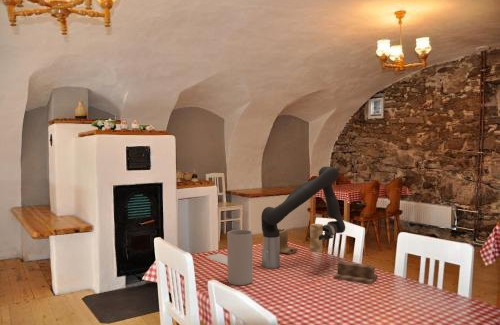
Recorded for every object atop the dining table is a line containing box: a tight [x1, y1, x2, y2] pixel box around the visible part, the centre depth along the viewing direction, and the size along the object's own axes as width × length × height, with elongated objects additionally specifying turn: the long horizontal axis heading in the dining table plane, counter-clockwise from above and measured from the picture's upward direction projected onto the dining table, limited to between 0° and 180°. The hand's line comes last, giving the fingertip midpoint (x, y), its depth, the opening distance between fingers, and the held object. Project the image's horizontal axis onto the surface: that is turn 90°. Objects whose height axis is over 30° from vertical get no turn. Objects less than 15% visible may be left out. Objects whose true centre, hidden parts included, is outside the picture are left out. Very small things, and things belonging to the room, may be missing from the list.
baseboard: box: [203, 251, 228, 266], centre depth 262 cm, size 31×3×12 cm
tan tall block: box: [309, 223, 324, 254], centre depth 237 cm, size 5×5×14 cm
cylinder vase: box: [226, 229, 254, 286], centre depth 224 cm, size 12×12×25 cm
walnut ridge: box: [333, 261, 378, 285], centre depth 229 cm, size 19×12×7 cm, turn 60°
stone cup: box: [278, 228, 299, 255], centre depth 282 cm, size 15×12×15 cm
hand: (314, 237), depth 234 cm, fingers closed on tan tall block, 5 cm apart
